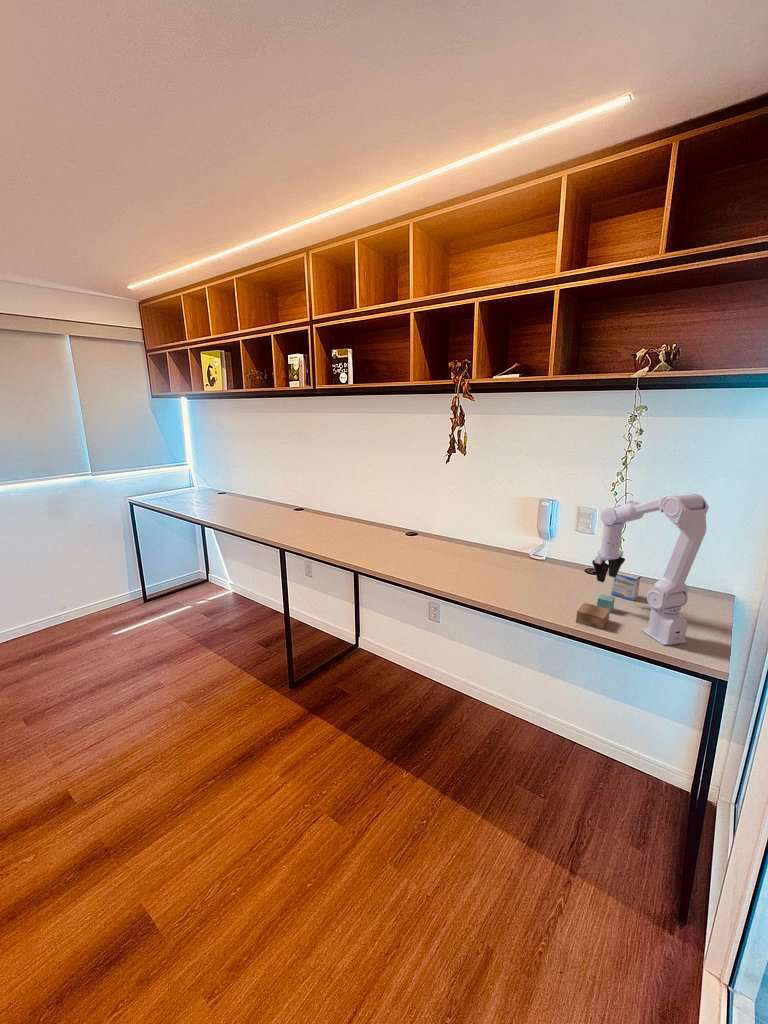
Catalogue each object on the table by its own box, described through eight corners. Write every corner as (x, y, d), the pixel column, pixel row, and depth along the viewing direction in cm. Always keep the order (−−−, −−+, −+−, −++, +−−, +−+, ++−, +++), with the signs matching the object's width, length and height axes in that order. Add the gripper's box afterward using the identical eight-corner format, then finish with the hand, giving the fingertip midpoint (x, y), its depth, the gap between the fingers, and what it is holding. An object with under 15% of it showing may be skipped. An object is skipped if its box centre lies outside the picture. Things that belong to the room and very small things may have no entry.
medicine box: (610, 595, 163) (613, 573, 161) (614, 591, 166) (617, 570, 164) (633, 601, 157) (637, 579, 155) (637, 597, 160) (640, 575, 158)
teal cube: (613, 609, 152) (614, 597, 151) (610, 613, 148) (611, 601, 147) (599, 605, 154) (601, 594, 153) (596, 609, 151) (597, 598, 150)
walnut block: (608, 620, 143) (609, 609, 142) (602, 629, 137) (603, 618, 136) (582, 613, 148) (584, 602, 147) (575, 622, 142) (577, 611, 141)
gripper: (611, 535, 157) (606, 571, 160) (588, 542, 149) (584, 579, 152) (631, 540, 151) (626, 577, 155) (608, 547, 144) (603, 586, 147)
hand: (606, 578), depth 153 cm, fingers open, 7 cm apart
